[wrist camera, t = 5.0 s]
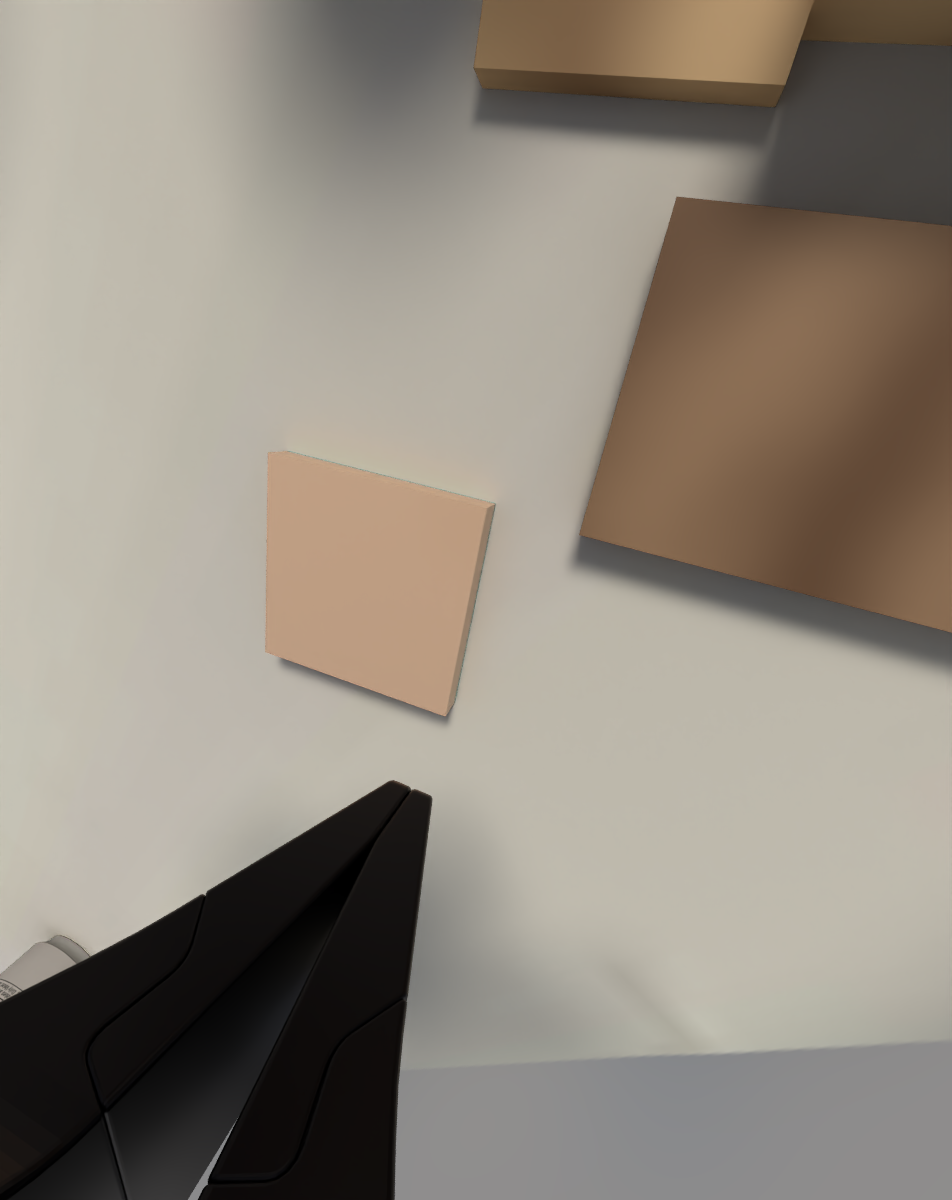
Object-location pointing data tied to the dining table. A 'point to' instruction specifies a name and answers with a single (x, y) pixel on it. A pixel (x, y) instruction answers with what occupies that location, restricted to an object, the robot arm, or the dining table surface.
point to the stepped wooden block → (682, 43)
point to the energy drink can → (40, 964)
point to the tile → (372, 577)
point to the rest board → (792, 408)
